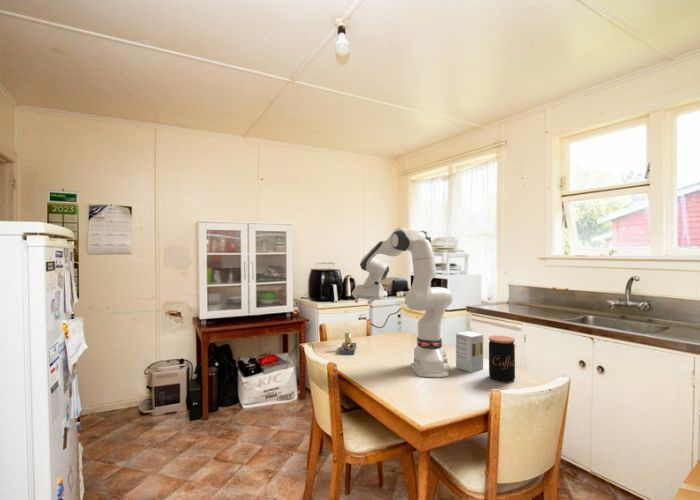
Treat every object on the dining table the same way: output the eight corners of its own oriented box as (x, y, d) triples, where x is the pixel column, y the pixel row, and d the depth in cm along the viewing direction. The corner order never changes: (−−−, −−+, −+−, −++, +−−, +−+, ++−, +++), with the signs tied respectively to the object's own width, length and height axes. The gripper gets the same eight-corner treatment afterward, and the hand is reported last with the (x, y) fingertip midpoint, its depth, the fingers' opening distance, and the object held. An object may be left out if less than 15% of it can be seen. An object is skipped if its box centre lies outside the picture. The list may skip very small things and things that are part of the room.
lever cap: (351, 351, 201) (350, 334, 201) (344, 351, 201) (344, 333, 201) (351, 349, 204) (351, 332, 204) (345, 349, 205) (345, 332, 205)
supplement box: (471, 373, 164) (470, 336, 164) (455, 367, 172) (455, 333, 172) (484, 369, 169) (483, 334, 169) (468, 364, 177) (467, 330, 177)
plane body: (353, 354, 194) (353, 345, 194) (339, 354, 195) (339, 345, 195) (356, 347, 210) (356, 338, 210) (343, 346, 211) (342, 338, 211)
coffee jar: (490, 381, 153) (489, 340, 153) (488, 373, 163) (487, 334, 163) (517, 384, 150) (516, 341, 150) (513, 375, 160) (512, 336, 160)
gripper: (355, 281, 226) (346, 298, 219) (382, 283, 214) (374, 301, 207) (359, 287, 230) (350, 304, 222) (386, 289, 218) (378, 307, 210)
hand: (362, 303), depth 214 cm, fingers open, 8 cm apart
